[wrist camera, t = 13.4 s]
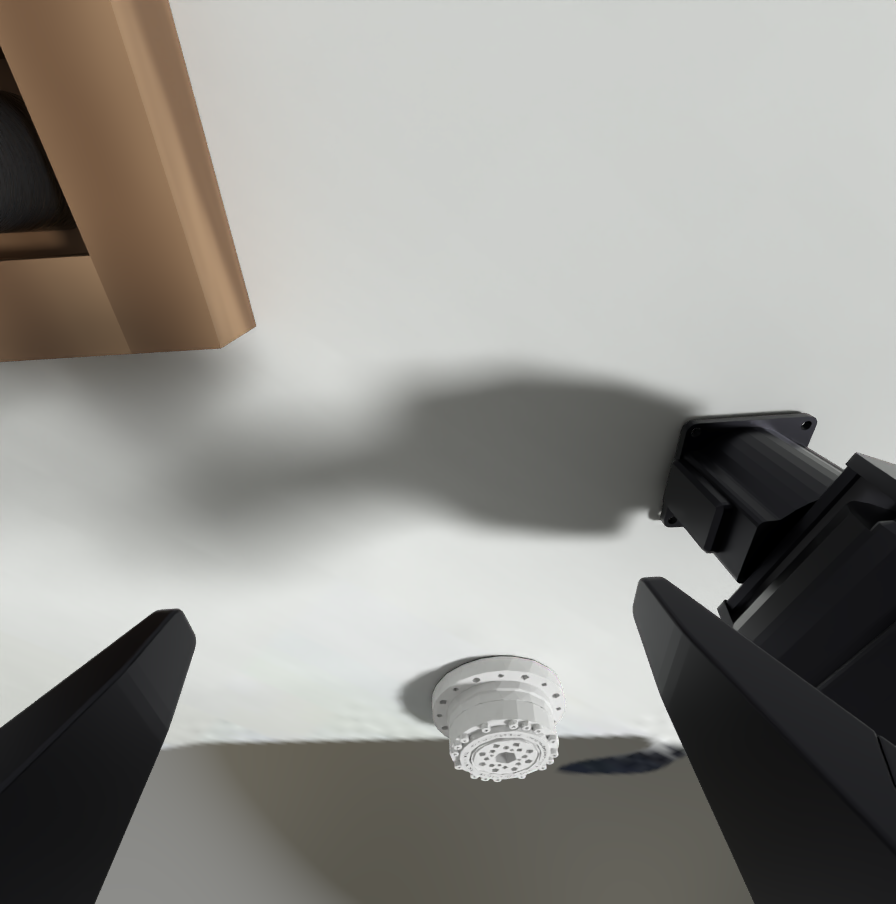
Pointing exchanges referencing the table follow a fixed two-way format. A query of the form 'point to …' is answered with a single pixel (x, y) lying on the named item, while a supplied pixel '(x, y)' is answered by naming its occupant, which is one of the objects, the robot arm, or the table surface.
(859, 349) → the table surface
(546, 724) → the mechanical component
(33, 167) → the steel pin
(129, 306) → the walnut bore block
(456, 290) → the table surface
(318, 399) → the table surface
